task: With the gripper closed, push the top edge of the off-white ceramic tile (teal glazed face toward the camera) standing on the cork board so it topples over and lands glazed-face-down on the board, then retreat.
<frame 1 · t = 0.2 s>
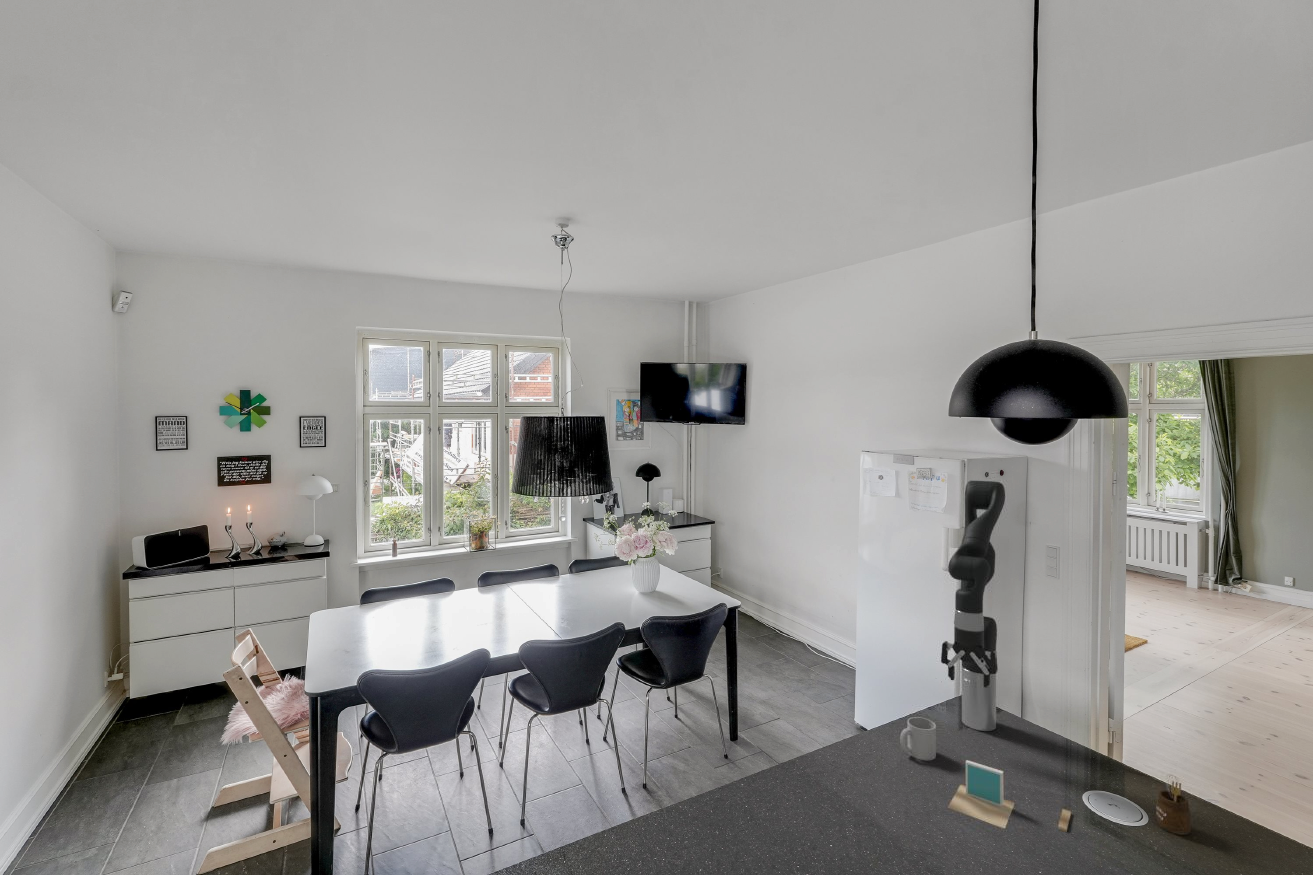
hand: (968, 682, 173), 18 cm above the worktop, tool pointing down, fingers open, 8 cm apart
board: (981, 807, 144), on the worktop
utensil holder: (1173, 828, 136), on the worktop
tile: (984, 799, 146), resting on board
tan tapered flat part: (1063, 829, 136), on the worktop
cup: (917, 756, 167), on the worktop
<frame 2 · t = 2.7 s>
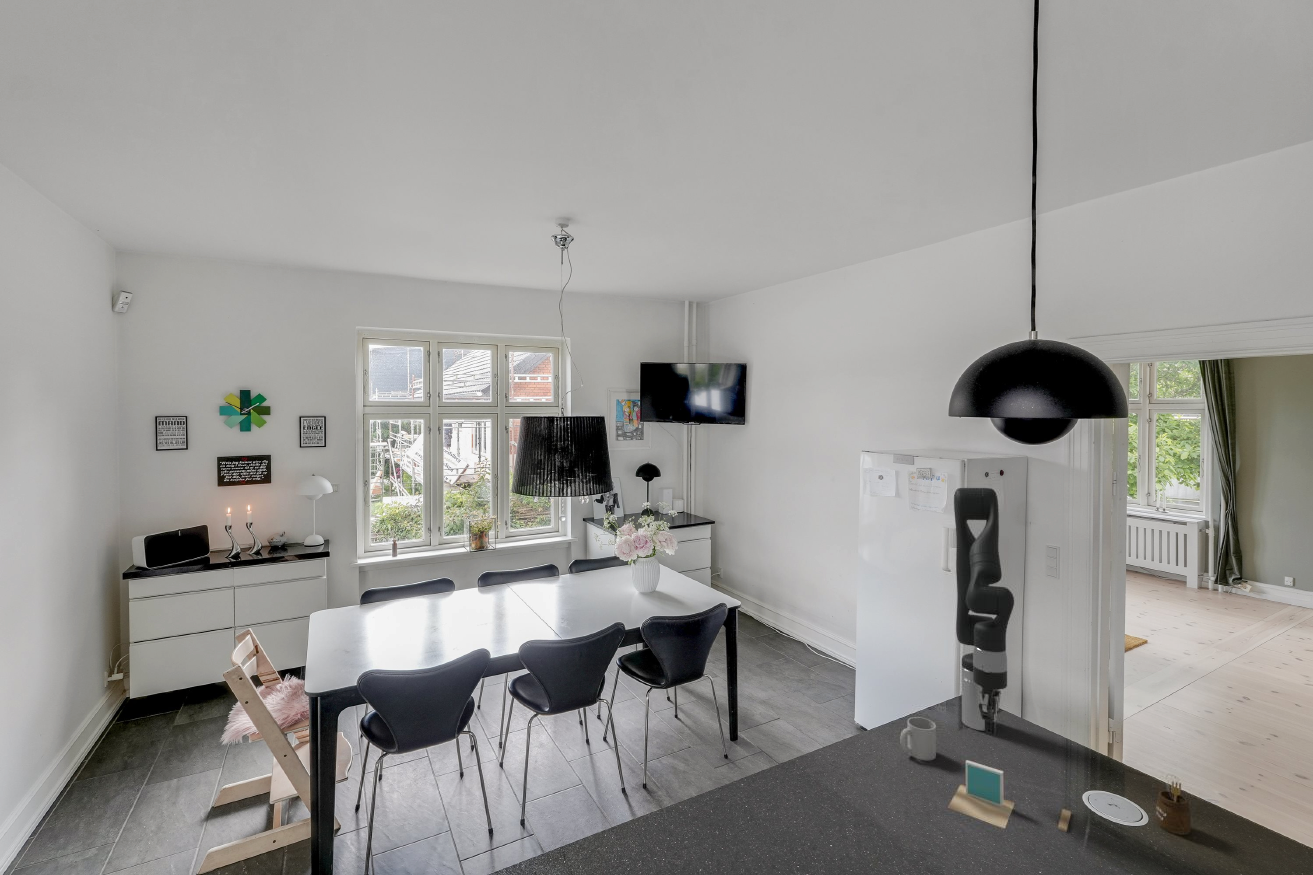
hand: (990, 733, 151), 14 cm above the worktop, tool pointing down, fingers closed
nothing on the worktop moved.
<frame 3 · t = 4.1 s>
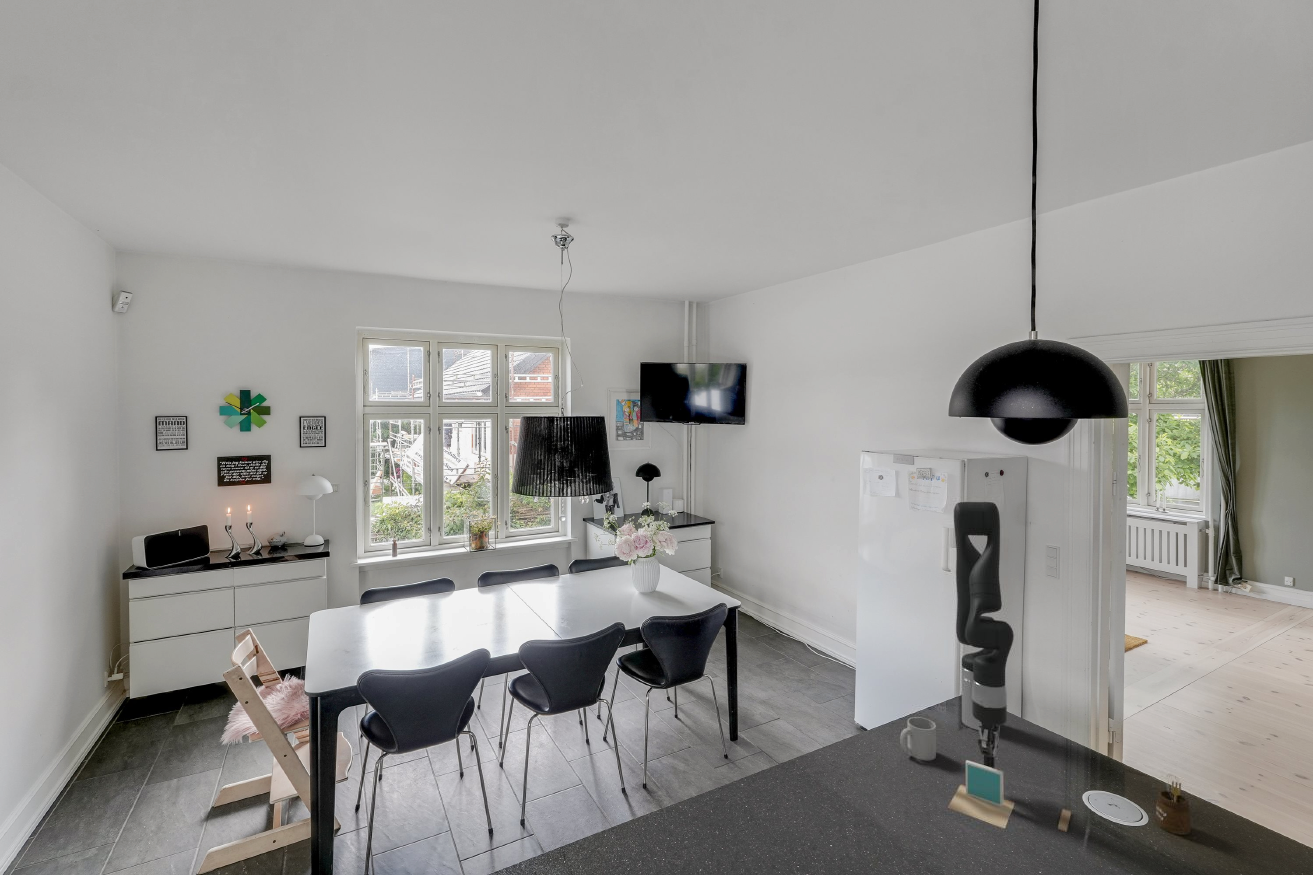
hand: (989, 768, 150), 6 cm above the worktop, tool pointing down, fingers closed
nothing on the worktop moved.
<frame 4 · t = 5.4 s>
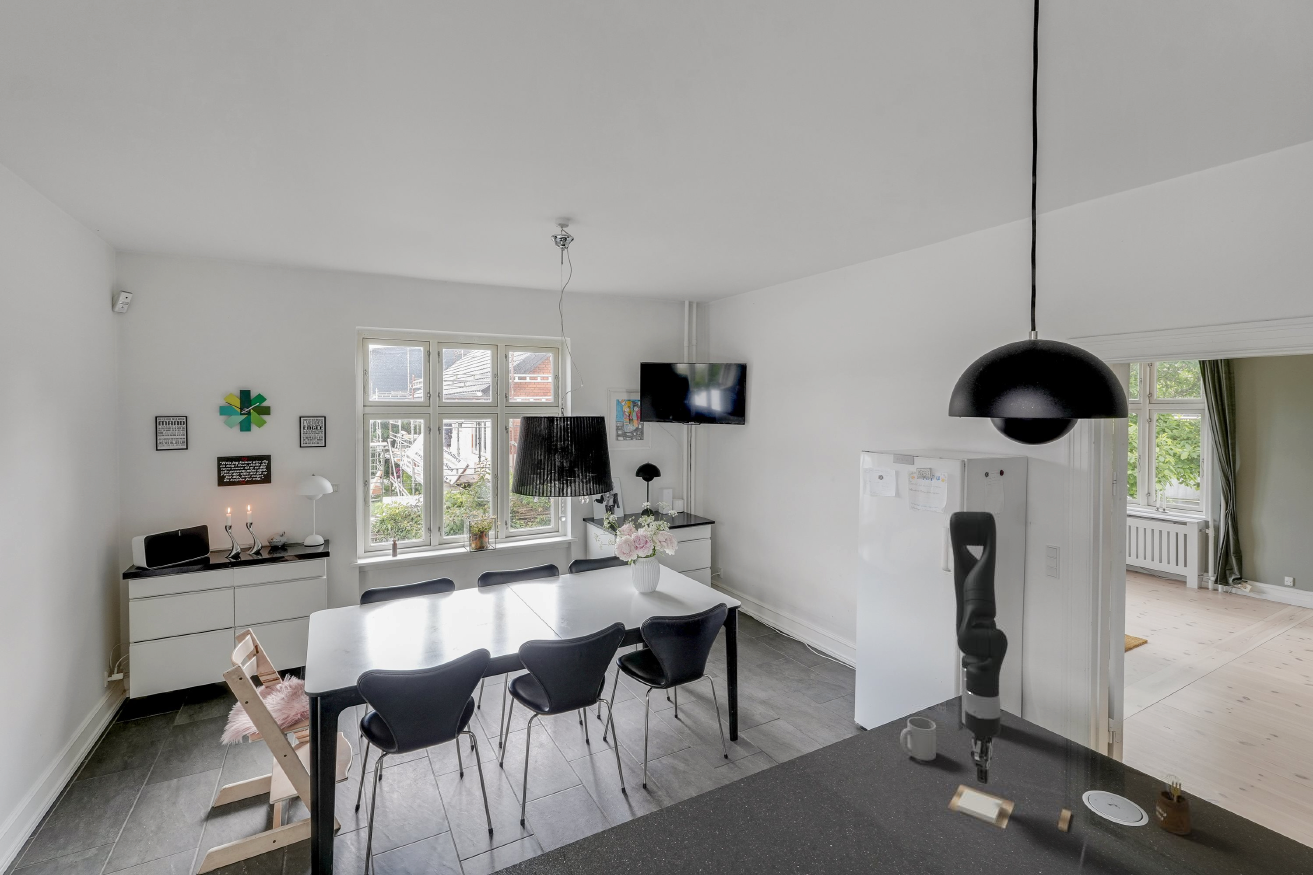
hand: (982, 781, 145), 6 cm above the worktop, tool pointing down, fingers closed
tile: (983, 797, 146), point 1 cm above the worktop, tilted 90°, touching board
everything else where it was.
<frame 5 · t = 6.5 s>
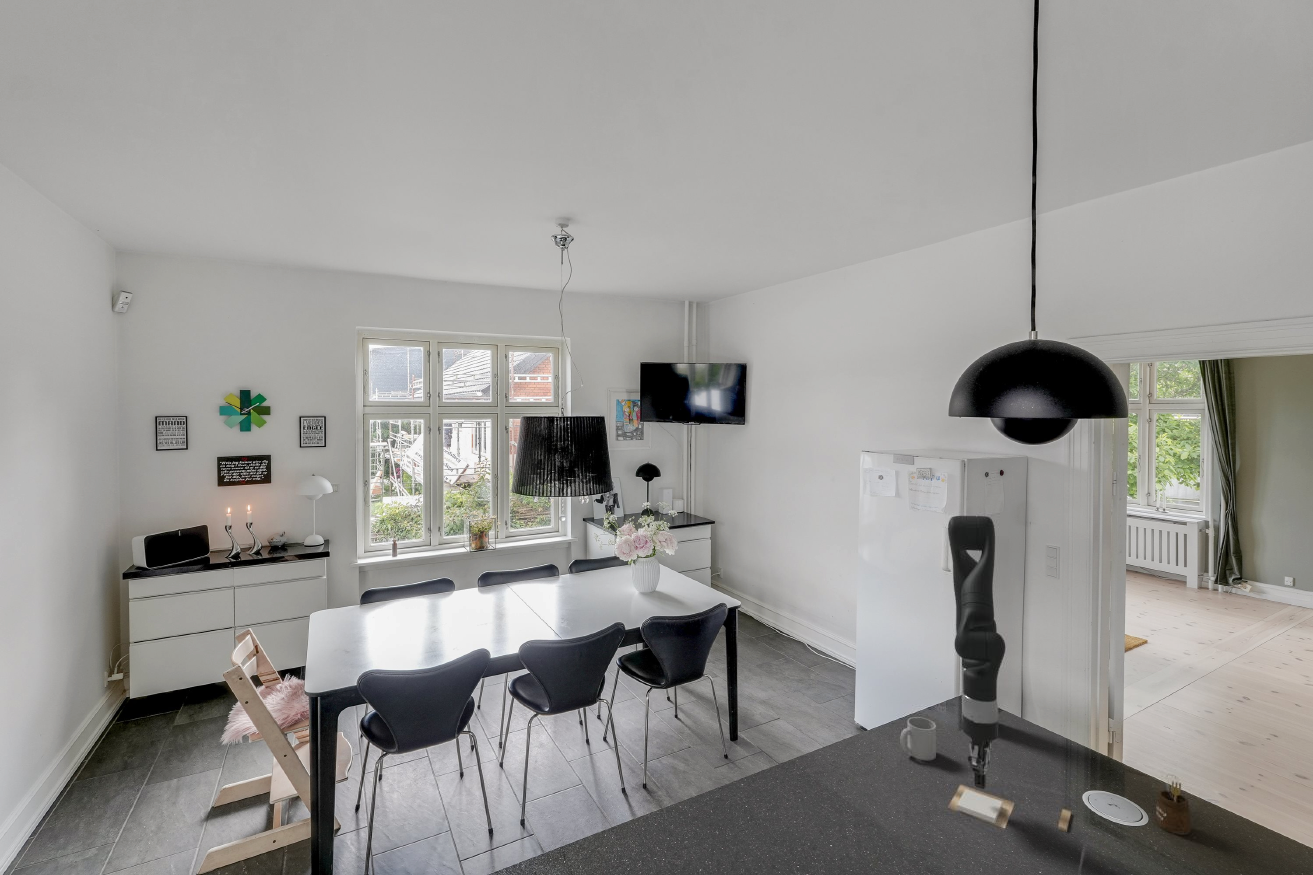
hand: (980, 786, 143), 6 cm above the worktop, tool pointing down, fingers closed
nothing on the worktop moved.
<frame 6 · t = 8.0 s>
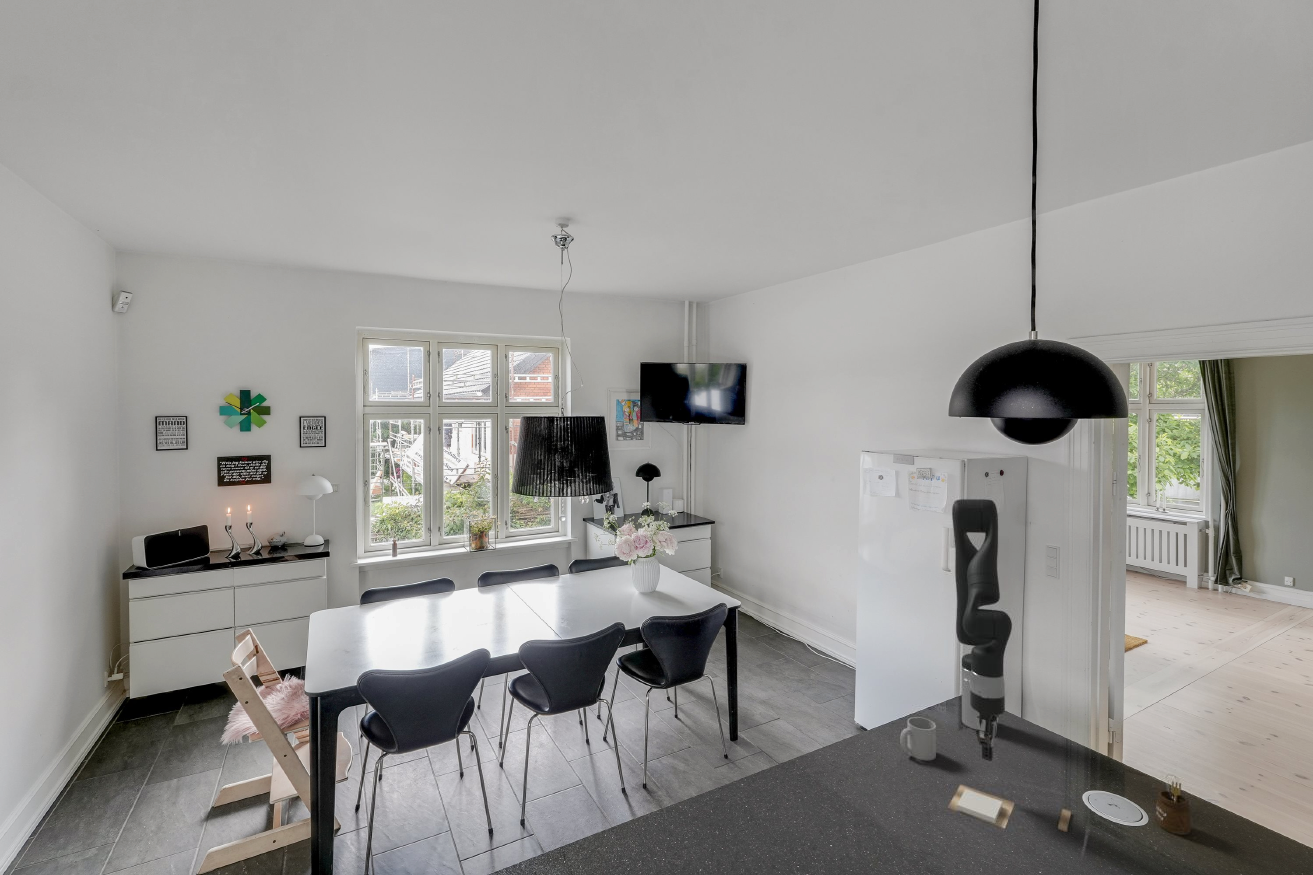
hand: (987, 758, 149), 9 cm above the worktop, tool pointing down, fingers closed
nothing on the worktop moved.
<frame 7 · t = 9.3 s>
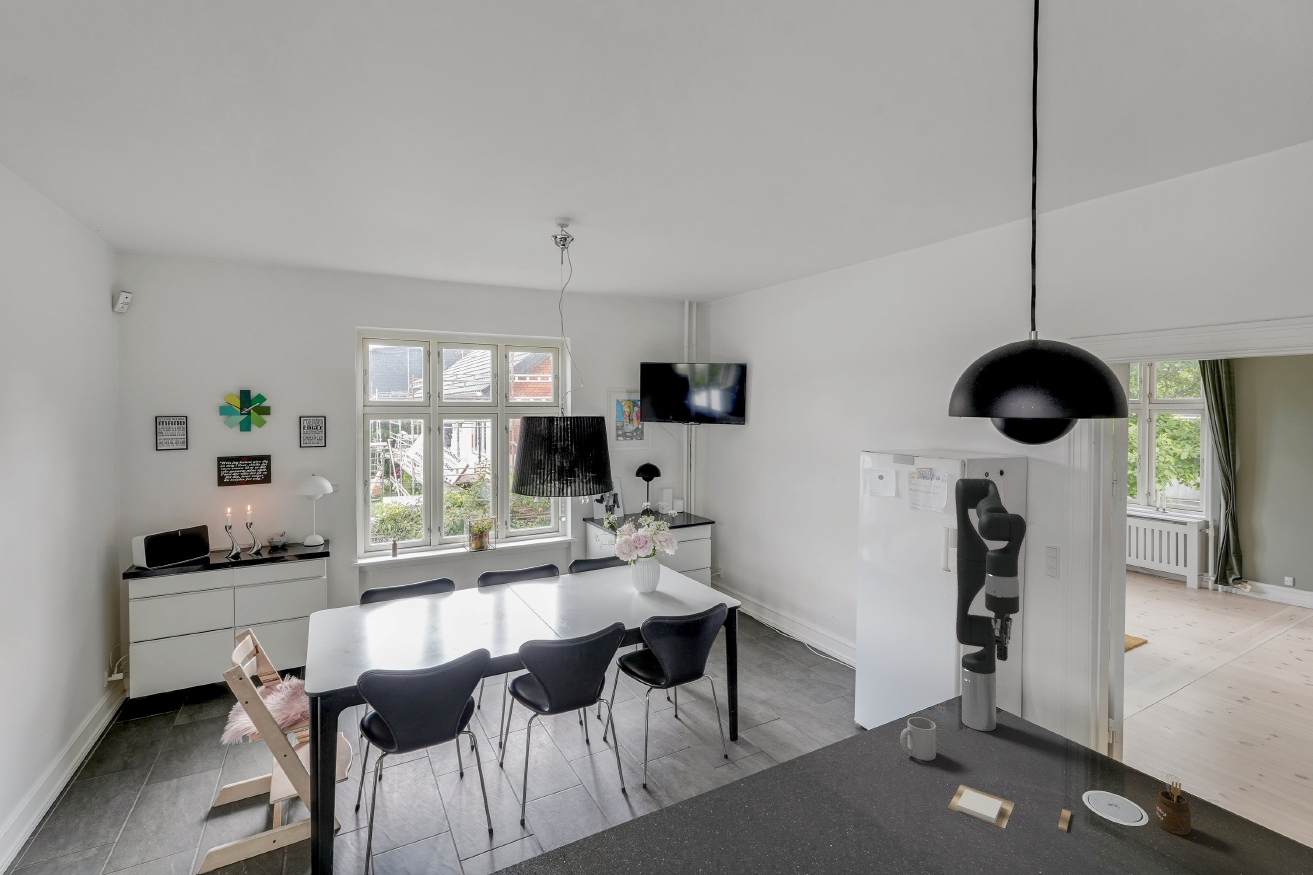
hand: (1002, 659, 153), 32 cm above the worktop, tool pointing down, fingers closed
nothing on the worktop moved.
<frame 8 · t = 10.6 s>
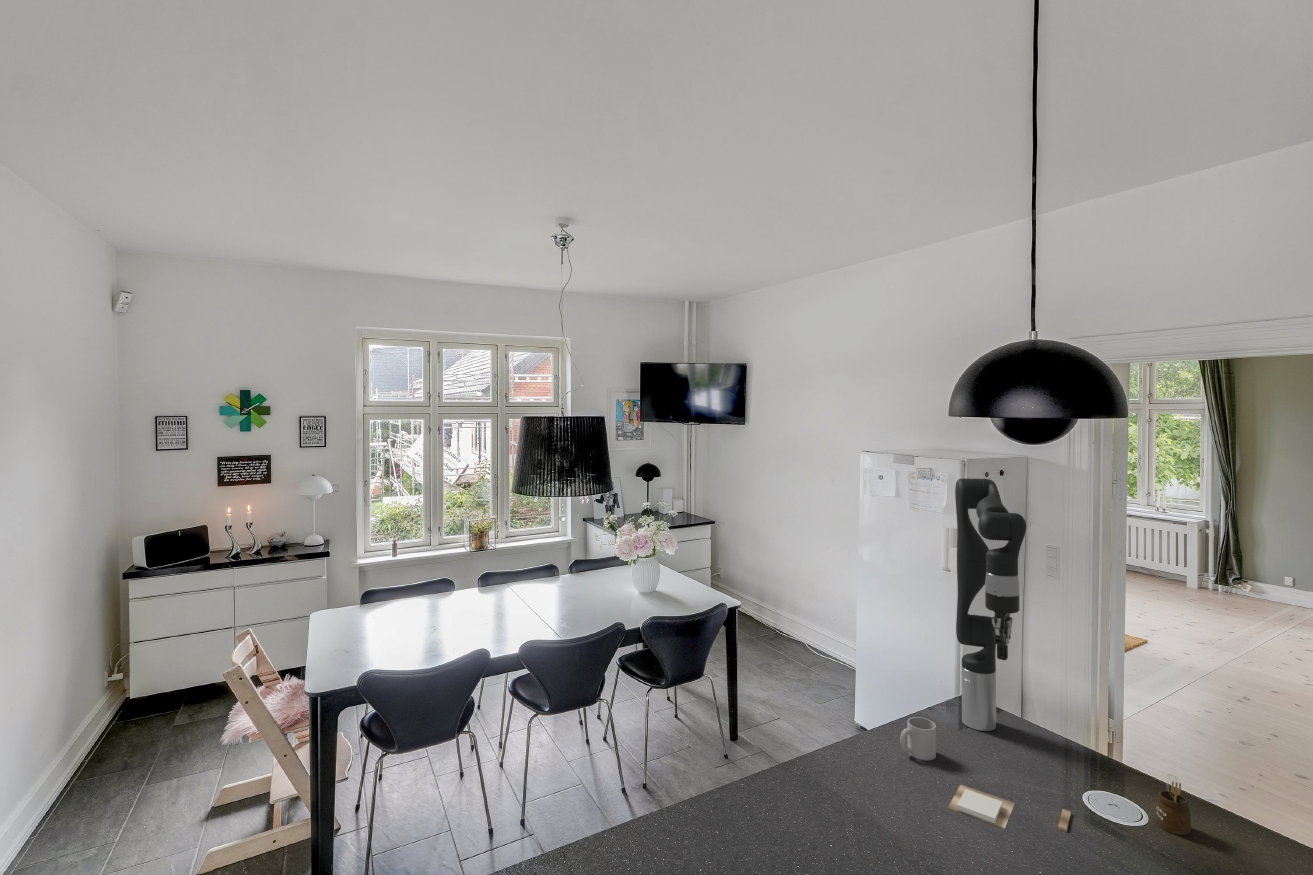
hand: (1002, 658, 153), 32 cm above the worktop, tool pointing down, fingers closed
nothing on the worktop moved.
at the end: tile tilted 90°; tile inside the target area (3.8 cm from its centre), point 1.2 cm above the worktop; the gripper is holding nothing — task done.
